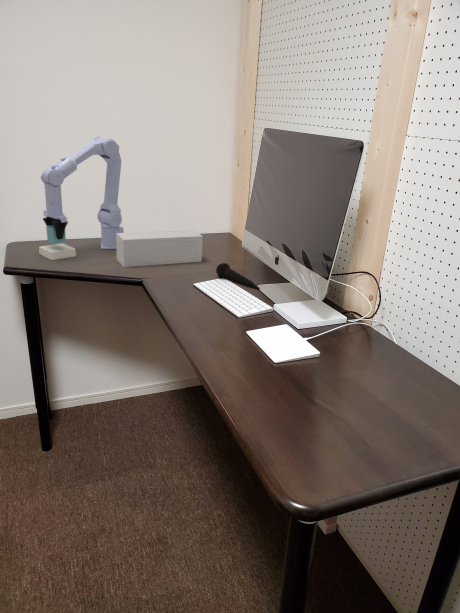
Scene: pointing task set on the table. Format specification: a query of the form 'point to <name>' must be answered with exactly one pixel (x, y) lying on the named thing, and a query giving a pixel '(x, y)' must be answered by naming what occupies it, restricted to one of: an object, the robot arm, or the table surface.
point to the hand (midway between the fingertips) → (56, 237)
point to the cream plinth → (57, 251)
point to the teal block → (54, 235)
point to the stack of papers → (158, 247)
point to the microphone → (233, 275)
